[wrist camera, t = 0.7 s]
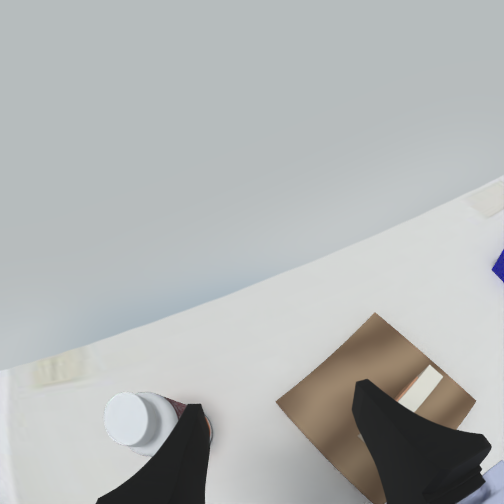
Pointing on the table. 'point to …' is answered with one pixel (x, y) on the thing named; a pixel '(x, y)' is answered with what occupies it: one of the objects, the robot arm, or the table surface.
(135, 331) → the table surface
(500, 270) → the cable holder
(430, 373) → the tile
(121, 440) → the pill bottle
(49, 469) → the table surface
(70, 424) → the table surface
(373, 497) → the board
